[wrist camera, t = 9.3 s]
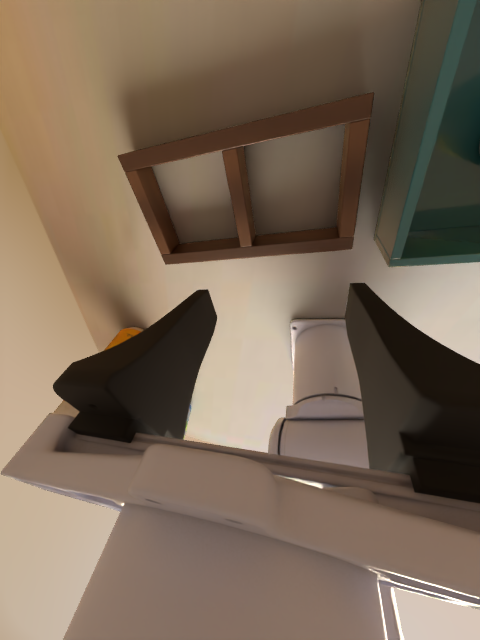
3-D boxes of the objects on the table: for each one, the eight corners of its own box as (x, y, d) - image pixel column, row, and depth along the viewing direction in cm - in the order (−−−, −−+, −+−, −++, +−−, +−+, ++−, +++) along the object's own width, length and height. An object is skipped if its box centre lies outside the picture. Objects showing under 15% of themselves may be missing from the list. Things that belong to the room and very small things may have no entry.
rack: (348, 237, 19) (352, 249, 17) (174, 253, 23) (165, 264, 21) (366, 93, 13) (374, 92, 12) (133, 151, 17) (116, 155, 16)
